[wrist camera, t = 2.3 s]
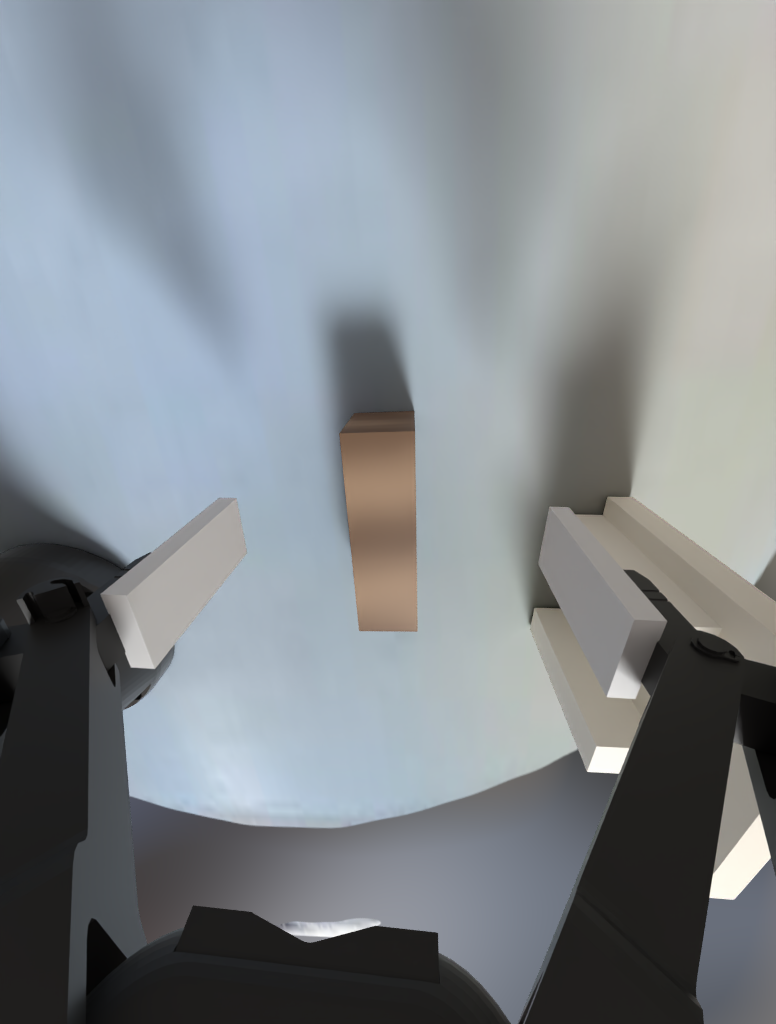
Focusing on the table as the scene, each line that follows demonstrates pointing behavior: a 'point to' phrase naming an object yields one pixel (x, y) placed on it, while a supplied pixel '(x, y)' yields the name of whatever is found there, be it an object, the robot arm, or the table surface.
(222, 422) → the table surface
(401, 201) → the table surface
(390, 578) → the brown rectangular block
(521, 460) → the table surface
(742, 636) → the white twin-rail base
